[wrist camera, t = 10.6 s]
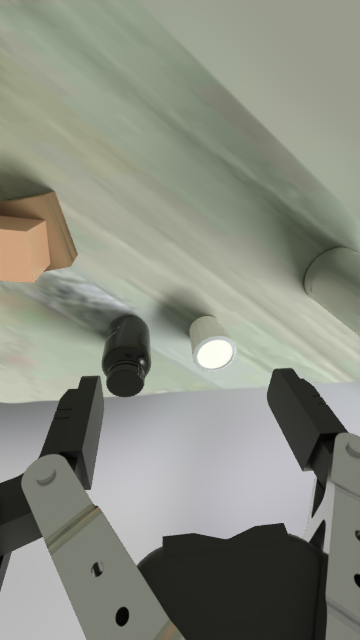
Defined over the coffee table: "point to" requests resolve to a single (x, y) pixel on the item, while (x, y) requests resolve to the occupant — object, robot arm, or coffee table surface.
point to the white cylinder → (211, 344)
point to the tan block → (23, 249)
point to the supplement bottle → (126, 356)
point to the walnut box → (57, 228)
